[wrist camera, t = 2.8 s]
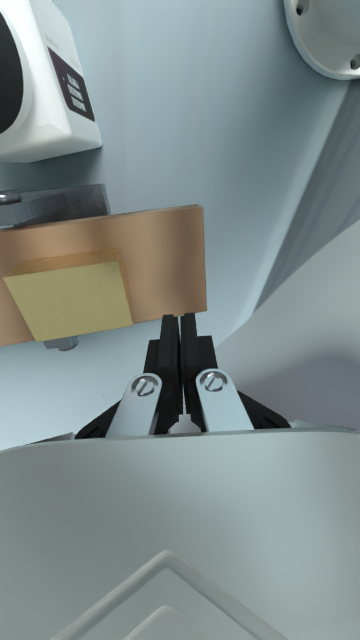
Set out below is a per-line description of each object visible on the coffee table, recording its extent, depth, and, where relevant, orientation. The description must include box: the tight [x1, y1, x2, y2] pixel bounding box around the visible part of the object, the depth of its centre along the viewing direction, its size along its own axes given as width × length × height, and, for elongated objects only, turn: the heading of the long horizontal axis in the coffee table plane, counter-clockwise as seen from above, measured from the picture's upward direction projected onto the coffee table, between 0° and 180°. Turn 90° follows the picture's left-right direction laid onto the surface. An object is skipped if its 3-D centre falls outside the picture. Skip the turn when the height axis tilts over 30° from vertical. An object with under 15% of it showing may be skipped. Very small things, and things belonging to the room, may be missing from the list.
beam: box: [0, 204, 207, 346], centre depth 20 cm, size 28×9×2 cm, turn 94°
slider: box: [3, 247, 133, 342], centre depth 18 cm, size 7×5×4 cm
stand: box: [0, 184, 111, 351], centre depth 23 cm, size 19×14×10 cm
